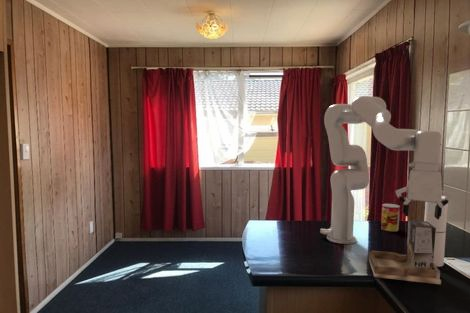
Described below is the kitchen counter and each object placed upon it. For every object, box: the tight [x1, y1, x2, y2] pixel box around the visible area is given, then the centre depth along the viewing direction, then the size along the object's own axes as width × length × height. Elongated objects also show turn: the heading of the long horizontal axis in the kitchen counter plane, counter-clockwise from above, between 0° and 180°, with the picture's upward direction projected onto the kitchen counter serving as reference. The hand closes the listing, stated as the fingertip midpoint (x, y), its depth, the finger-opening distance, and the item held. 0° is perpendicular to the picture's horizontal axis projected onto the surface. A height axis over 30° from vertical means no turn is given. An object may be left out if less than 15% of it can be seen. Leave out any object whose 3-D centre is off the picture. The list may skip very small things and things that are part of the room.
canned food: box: [380, 203, 401, 232], centre depth 175 cm, size 8×8×12 cm
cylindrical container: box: [423, 195, 449, 268], centre depth 131 cm, size 7×7×25 cm
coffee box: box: [406, 220, 436, 270], centre depth 122 cm, size 9×6×16 cm
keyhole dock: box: [368, 249, 442, 285], centre depth 124 cm, size 20×16×4 cm
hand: (421, 216), depth 121 cm, fingers open, 9 cm apart
